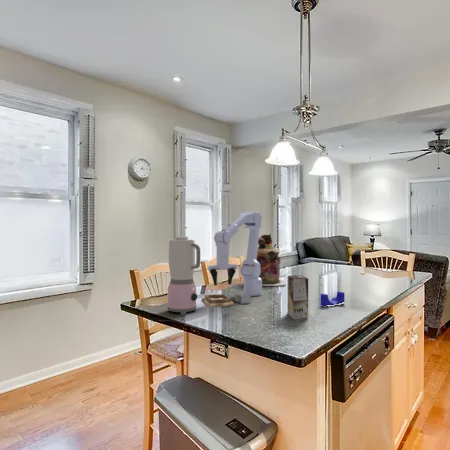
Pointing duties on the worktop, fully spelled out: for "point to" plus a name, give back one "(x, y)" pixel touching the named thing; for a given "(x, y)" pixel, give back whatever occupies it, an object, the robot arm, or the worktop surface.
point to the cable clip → (336, 300)
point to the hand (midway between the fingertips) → (222, 284)
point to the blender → (182, 274)
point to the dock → (217, 300)
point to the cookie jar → (269, 262)
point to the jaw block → (243, 298)
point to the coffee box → (298, 296)
